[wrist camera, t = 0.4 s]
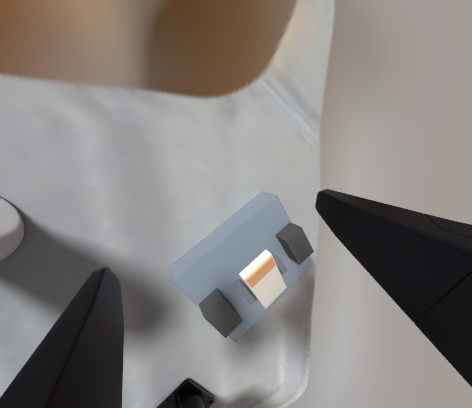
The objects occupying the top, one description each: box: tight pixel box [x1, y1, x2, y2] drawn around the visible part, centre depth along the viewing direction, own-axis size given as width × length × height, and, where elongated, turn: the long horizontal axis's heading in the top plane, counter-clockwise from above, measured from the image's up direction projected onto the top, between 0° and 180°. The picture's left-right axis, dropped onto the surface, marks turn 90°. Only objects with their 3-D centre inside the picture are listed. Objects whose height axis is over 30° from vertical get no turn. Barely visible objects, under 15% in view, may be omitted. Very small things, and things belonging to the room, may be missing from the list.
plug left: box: [199, 288, 243, 338], centre depth 21 cm, size 4×2×2 cm, turn 33°
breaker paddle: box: [239, 250, 287, 309], centre depth 21 cm, size 8×4×1 cm, turn 33°
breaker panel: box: [170, 192, 313, 343], centre depth 23 cm, size 12×14×5 cm
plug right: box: [276, 222, 314, 265], centre depth 23 cm, size 4×2×2 cm, turn 33°
